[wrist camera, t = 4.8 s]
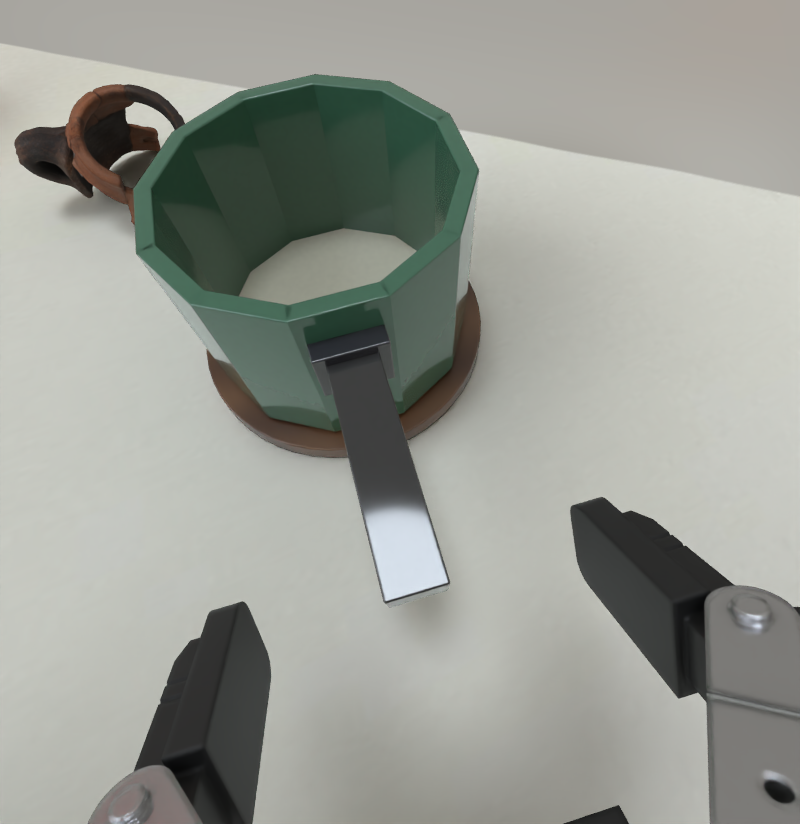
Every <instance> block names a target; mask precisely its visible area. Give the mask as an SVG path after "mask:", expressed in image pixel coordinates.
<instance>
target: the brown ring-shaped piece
mask: <svg viewBox="0 0 800 824" xmlns="http://www.w3.org/2000/svg"><path fill="white" fill-rule="evenodd" d="M134 102H138V103H142V104H145V105H148V106H150V107H152V108H154V109H156V110H157V111H159V112H160V113H162V114H163V115H164V116H165V117H166V118H167V119H168V120H169V121H170V122H171V124H172V126H173V127H174V129H175V130H176V129H178V128H179V127H181V126H183V125H184V124H185V123H184V120H183V118H182V117H181V115H179V114H178V112H177V110H176V109H175V108H174V107H173V106H172V105H171V104H170V102H169V101H168V100H166V99H165V98H164V97H162V96H161V95H160V94H158V93H156V92H154V91H151V90H149V89H146V88H143V87H140V86H135V85H129V84H127V85H121V84H119V85H118V84H115V85H107V86H102V87H99V88H96V89H94V90H93V92H88V93H86V94H85V95H84V96H83V97H82V98H81V99H79V100H78V102H77V103H76V104H75V105H74V107H73V109H72V111H71V114H70V117H69V123H67V124H66V126H63V127H55V128H51V127H37V128H33V129H30V130H26V131H23V132H22V133H21V134H20V135H19V136H18V137H17V138H16V140H15V148H16V154H17V155H18V158H19V162H20V164H21V165H23V166H24V167H25V168H26V169H28V170H29V171H30V172H32V173H33V174H36V175H37V176H40V177H42V178H45V179H47V180H50V181H54V182H57V183H61V184H65V185H69V186H72V187H74V188H75V189H77V190H78V191H80V192H81V193H82V194H83V195H85V196H86V197H88V198H91V197H92V196H93V191H92V187H93V186H95V187H96V188H97V189H99V190H100V191H101V192H103V193H104V194H105V195H107V196H109V197H110V198H112V199H114V200H116V201H118V202H121V203H123V204H128V206H129V210H130V213H131V216H132V220H131V222H132V223H133V224H134V225H135V219H134V198H133V189H132V188H129V187H126V186H125V185H124V183H123V181H122V178H121V176H120V175H118V174H116V173H114V172H112V171H110V170H109V169H110V167H111V166H112V164H114V163H115V162H116V161H117V160H118V159H119V158H120V157H121V156H123V155H124V154H126V153H129V152H131V151H145V150H150V151H160V145H159V141H158V133H157V130H156V129H154V128H151V127H142V126H139V125H134V124H127V121H126V115H125V113H126V111H125V108H126V107H129V106H131V105H132V104H133V103H134ZM140 179H141V178H139V180H140Z"/></svg>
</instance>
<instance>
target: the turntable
mask: <svg viewBox="0 0 800 824" xmlns="http://www.w3.org/2000/svg"><path fill="white" fill-rule="evenodd" d="M480 326H481V321H480V313H479V306H478V303H477V300H476V296H475V293H474V291H473V289H472V287H471V284H470V282H469V280H468V290H467V300H466V310H465V316H464V320H463V324H462V328H461V332H460V336H459V341H458V345H457V349H456V353H455V357H454V361H453V365H452V368H451V369H450V370H449V371H448V372H447V373H445V374H444V375H443V376H442V377H441V378H440V379H439V380H438V381H437V382H436V383H435V384H434V385H433V386H432V387H431V388H430V389H429V390H428V391H426V392H425V393H424V394H423V395H422V396H421V397H420V398H419V399H418V400H417V401H416V402H415V403H414V404H413V405H412V406H411V407H410V408H409V409H407V410H406V411H405V412H404V413H401V414H399V418H400V421H401V424H402V427H403V430H404V434H405V437H406V440H408V439H410V438H412V437H413V436H415V435H417V434H418V433H420V432H422V431H423V430H425V429H426V428H428V427H429V426H430V425H431V424H433V423H434V422H435V421H437V420H438V419H439V418H440V417H441V416H442V415H443V414H444V413H445V412H446V411H447V410H448V409H449V408H450V407H451V406H452V405H453V403H454V402H455V401H456V399H457V398H458V397H459V395H460V394H461V393H462V391H463V389H464V387H465V386H466V384H467V382H468V380H469V378H470V376H471V373H472V370H473V368H474V365H475V362H476V358H477V352H478V347H479V341H480ZM207 358H208V365H209V370H210V373H211V376H212V379H213V382H214V384H215V386H216V388H217V390H218V392H219V394H220V396H221V398H222V399H223V400H224V402H225V403H226V404H227V406H228V407H229V408H230V410H231V411H232V412H233V413H234V414H235V416H236V417H237V418H238V419H239V420H240V421H241V422H242V423H243V424H244V425H245V426H246V427H247V428H249V429H250V430H251V431H253V432H254V433H256V434H257V435H258V436H260V437H261V438H263V439H265V440H267V441H269V442H270V443H272V444H274V445H276V446H278V447H281V448H284V449H287V450H290V451H293V452H296V453H301V454H306V455H311V456H319V457H348V454H347V450H346V446H345V442H344V438H343V434H342V430H340V431H336V432H335V431H330V430H326V429H321V428H316V427H312V426H307V425H303V424H298V423H294V422H289V421H284V420H280V419H275V418H271V417H268V416H267V415H266V414H265V413H264V412H263V411H262V410H261V409H260V408H259V407H258V406H257V405H256V404H255V403H254V402H253V401H252V400H251V399H250V398H249V397H248V396H247V395H246V394H245V393H244V392H243V391H242V390H241V389H240V388H239V387H238V386H237V385H236V384H235V383H234V382H233V381H232V380H231V379H230V378H229V377H228V376H227V375H226V373H225V372H224V371H223V369H222V368H221V367H220V365H219V364H218V363H217V361H216V360H215V359H214V357H213V356H212V355H211V353H210V352H209V350H208V349H207Z"/></svg>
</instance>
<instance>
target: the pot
mask: <svg viewBox="0 0 800 824" xmlns="http://www.w3.org/2000/svg"><path fill="white" fill-rule="evenodd" d="M478 177H479V169H478V167H477V165H476V163H475V161H474V159H473V157H472V155H471V153H470V151H469V149H468V147H467V146H466V144H465V142H464V140H463V138H462V136H461V134H460V132H459V130H458V128H457V126H456V124H455V123H454V121H453V119H452V117H451V115H450V114H449V113H447V112H445V111H443V110H442V109H440V108H438V107H436V106H434V105H432V104H430V103H429V102H427V101H425V100H423V99H421V98H419V97H418V96H416V95H414V94H412V93H410V92H408V91H407V90H405V89H403V88H401V87H399V86H397V85H395V84H394V83H392V82H389V81H380V80H370V79H360V78H349V77H339V76H328V75H318V74H314V75H310V76H306V77H301V78H297V79H292V80H288V81H284V82H279V83H275V84H271V85H266V86H262V87H257V88H253V89H248V90H244V91H239V92H237V93H235V94H234V95H232V96H230V97H229V98H227V99H225V100H224V101H222V102H220V103H219V104H217V105H215V106H214V107H212V108H211V109H209V110H207V111H206V112H204V113H202V114H201V115H199V116H197V117H196V118H194V119H193V120H191V121H189V122H188V123H186V124H184V125H183V126H181V127H179V128H178V129H176V130H174V131H173V132H172V133H171V135H170V136H169V137H168V139H167V140H166V142H165V143H164V145H163V146H162V148H161V149H160V151H159V152H158V154H157V155H156V157H155V158H154V159H153V161H152V162H151V164H150V165H149V167H148V168H147V170H146V171H145V173H144V174H143V176H142V177H141V179H140V180H139V181H138V183H137V184H136V186H135V187H134V189H133V198H134V219H135V241H136V254H137V256H138V257H139V258H140V260H141V261H142V262H143V264H144V265H145V266H146V268H147V269H148V270H149V272H150V273H151V274H152V276H153V277H154V278H155V280H156V281H157V282H158V284H159V285H160V286H161V288H162V289H163V290H164V292H165V293H166V294H167V296H168V297H169V298H170V300H171V301H172V302H173V304H174V305H175V306H176V308H177V309H178V310H179V312H180V313H181V314H182V316H183V317H184V318H185V320H186V321H187V322H188V324H189V325H190V326H191V328H192V329H193V330H194V332H195V333H196V334H197V336H198V337H199V338H200V340H201V341H202V342H203V344H204V345H205V346H206V348H207V349H208V350H209V352H210V353H211V355H212V356H213V357H214V359H215V360H216V361H217V363H218V364H219V365H220V367H221V368H222V369H223V371H224V372H225V373H226V375H227V376H228V377H229V378H230V379H231V380H232V381H233V382H234V383H235V384H236V385H237V386H238V387H239V388H240V389H241V390H242V391H243V392H244V393H245V394H246V395H247V396H248V397H249V398H250V399H251V400H252V401H253V402H254V403H255V404H256V405H257V406H258V407H259V408H260V409H261V410H262V411H263V412H264V413H265V414H266V415H267V416H268V417H271V418H275V419H280V420H284V421H289V422H294V423H298V424H303V425H307V426H312V427H316V428H321V429H326V430H330V431H335V432H336V431H340V430H342V434H343V438H344V442H345V446H346V450H347V454H348V458H349V463H350V467H351V471H352V475H353V479H354V483H355V487H356V491H357V495H358V499H359V503H360V507H361V511H362V515H363V520H364V524H365V528H366V532H367V536H368V540H369V544H370V548H371V552H372V556H373V560H374V564H375V568H376V573H377V577H378V581H379V585H380V589H381V593H382V597H383V601H384V603H385V604H386V605H387V606H388V607H389V608H391V607H394V606H398V605H401V604H404V603H408V602H411V601H414V600H418V599H421V598H424V597H427V596H431V595H434V594H437V593H441V592H444V591H447V590H448V589H449V585H450V580H449V577H448V573H447V570H446V567H445V564H444V560H443V557H442V554H441V551H440V547H439V544H438V541H437V538H436V534H435V531H434V528H433V525H432V521H431V518H430V515H429V512H428V508H427V505H426V502H425V499H424V495H423V492H422V489H421V486H420V482H419V479H418V476H417V473H416V469H415V466H414V463H413V460H412V456H411V453H410V450H409V447H408V443H407V440H406V437H405V434H404V430H403V427H402V424H401V421H400V418H399V414H401V413H404V412H405V411H406V410H407V409H409V408H410V407H411V406H412V405H413V404H414V403H415V402H416V401H417V400H418V399H419V398H420V397H421V396H422V395H423V394H424V393H425V392H426V391H428V390H429V389H430V388H431V387H432V386H433V385H434V384H435V383H436V382H437V381H438V380H439V379H440V378H441V377H442V376H443V375H444V374H445V373H447V372H448V371H449V370H450V369H451V368H452V365H453V361H454V357H455V353H456V349H457V345H458V341H459V336H460V332H461V328H462V324H463V320H464V316H465V310H466V300H467V290H468V279H469V269H470V259H471V249H472V239H473V228H474V218H475V208H476V198H477V188H478Z"/></svg>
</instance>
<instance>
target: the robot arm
mask: <svg viewBox="0 0 800 824" xmlns="http://www.w3.org/2000/svg"><path fill="white" fill-rule="evenodd" d="M570 514H571V521H572V529H573V536H574V543H575V550H576V557H577V562H578V565H579V568H580V571H581V573H582V575H583V577H584V579H585V581H586V582H587V584H588V585H589V587H590V588H591V589H592V590H593V592H594V593H595V594H596V595H597V597H598V598H599V599H600V600H601V602H602V603H603V604H604V605H605V607H606V608H607V609H608V610H609V612H610V613H611V614H612V615H613V617H614V618H615V619H616V621H617V622H618V623H619V624H620V626H621V627H622V628H623V629H624V631H625V632H626V633H627V634H628V636H629V637H630V638H631V639H632V641H633V642H634V643H635V644H636V646H637V647H638V648H639V649H640V651H641V652H642V653H643V654H644V656H645V657H646V658H647V659H648V661H649V662H650V663H651V665H652V666H653V667H654V668H655V670H656V671H657V672H658V673H659V675H660V676H661V677H662V678H663V680H664V681H665V682H666V683H667V685H668V686H669V687H670V688H671V690H672V691H673V692H674V693H675V695H676V696H677V697H678V698H682V697H686V696H689V695H692V694H695V693H699V694H700V695H701V696H702V697H703V699H704V700H705V701H706V702H707V733H708V770H709V808H710V824H800V607H792V606H791V605H790V604H789V603H788V602H787V601H785V600H784V599H782V598H781V597H779V596H777V595H775V594H773V593H771V592H768V591H765V590H763V589H759V588H755V587H749V586H740V585H739V586H735V585H734V584H732V583H731V582H730V581H729V580H727V579H726V578H725V577H724V576H722V575H721V574H720V573H719V572H718V571H716V570H715V569H714V568H713V567H711V566H710V565H709V564H708V563H706V562H705V561H704V560H703V559H701V558H700V557H699V556H698V555H696V554H695V553H694V552H693V551H692V550H690V549H689V548H688V547H687V546H683V544H682V542H680V541H679V540H678V539H677V538H675V537H674V536H673V535H670V534H669V532H668V531H667V530H666V529H664V528H663V527H662V526H661V525H659V524H658V523H657V522H656V521H654V520H653V519H651V518H648V517H646V516H643V515H641V514H638V513H636V512H633V511H628V512H625V513H621V512H620V511H619V510H618V509H617V508H616V507H614V506H613V505H612V504H611V503H610V502H609V501H608V500H606V499H605V498H603V497H600V498H596V499H593V500H589V501H586V502H583V503H579V504H576V505H572V506H571V510H570ZM270 682H271V667H270V661H269V656H268V653H267V650H266V647H265V645H264V643H263V640H262V638H261V636H260V633H259V631H258V629H257V626H256V624H255V622H254V619H253V617H252V615H251V612H250V610H249V608H248V606H247V604H246V603H245V602H240V603H236V604H233V605H229V606H226V607H223V608H219V609H216V610H212V611H210V612H209V614H208V616H207V620H206V623H205V626H204V629H203V632H202V635H201V638H198V639H194V640H191V641H190V642H189V643H188V644H187V646H186V647H185V648H184V650H183V651H182V652H181V654H180V655H179V656H178V658H177V659H176V660H175V662H174V664H173V667H172V670H171V672H170V675H169V678H168V680H167V686H166V687H165V689H164V691H163V694H162V697H161V699H160V701H161V704H159V705H158V707H157V710H156V713H155V715H154V718H153V721H152V724H151V726H150V729H149V732H148V734H147V737H146V740H145V742H144V745H143V748H142V750H141V753H140V756H139V759H138V761H137V764H136V767H135V769H134V772H133V773H131V774H130V775H128V776H126V777H125V778H124V779H122V780H121V781H120V782H119V783H117V784H116V785H115V786H114V787H113V788H112V789H111V790H110V791H109V792H108V793H107V794H106V795H105V796H104V798H103V799H102V800H101V801H100V803H99V804H98V806H97V807H96V809H95V810H94V812H93V814H92V815H91V817H90V819H89V822H88V824H252V822H253V814H254V807H255V799H256V791H257V783H258V775H259V768H260V760H261V752H262V744H263V737H264V729H265V721H266V713H267V706H268V698H269V690H270ZM564 824H629V823H628V821H627V819H626V817H625V816H624V814H623V812H622V810H621V808H620V806H619V805H618V806H615V807H612V808H609V809H606V810H603V811H600V812H597V813H594V814H591V815H588V816H585V817H582V818H579V819H576V820H573V821H570V822H567V823H564Z"/></svg>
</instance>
